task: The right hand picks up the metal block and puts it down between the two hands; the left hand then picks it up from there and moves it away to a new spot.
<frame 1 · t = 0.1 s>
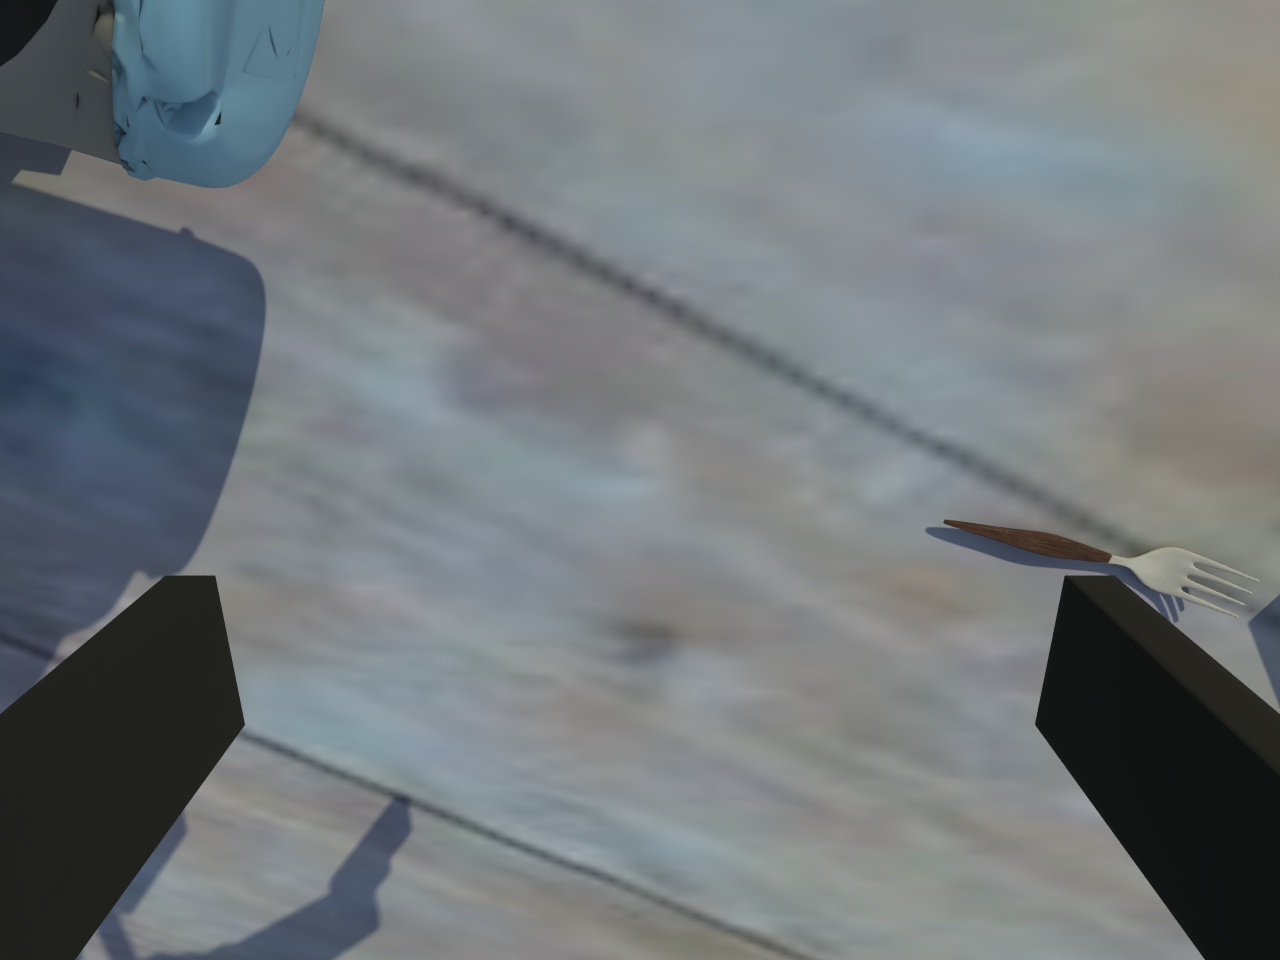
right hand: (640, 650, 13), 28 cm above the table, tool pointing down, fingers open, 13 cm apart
fork: (1082, 548, 43), on the table
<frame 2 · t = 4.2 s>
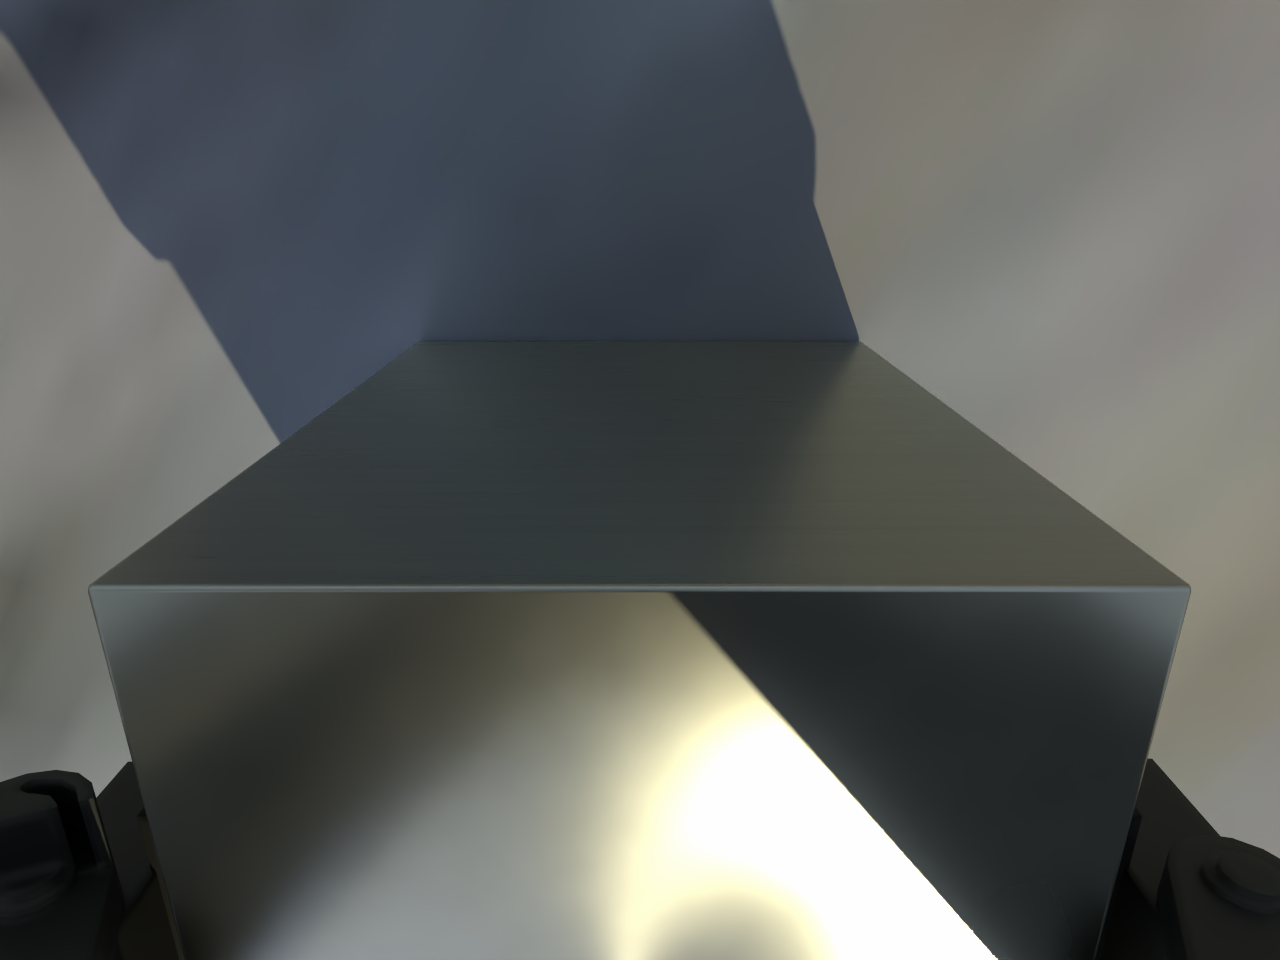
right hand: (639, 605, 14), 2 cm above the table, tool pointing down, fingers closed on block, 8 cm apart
block: (639, 554, 16), on the table, touching right hand
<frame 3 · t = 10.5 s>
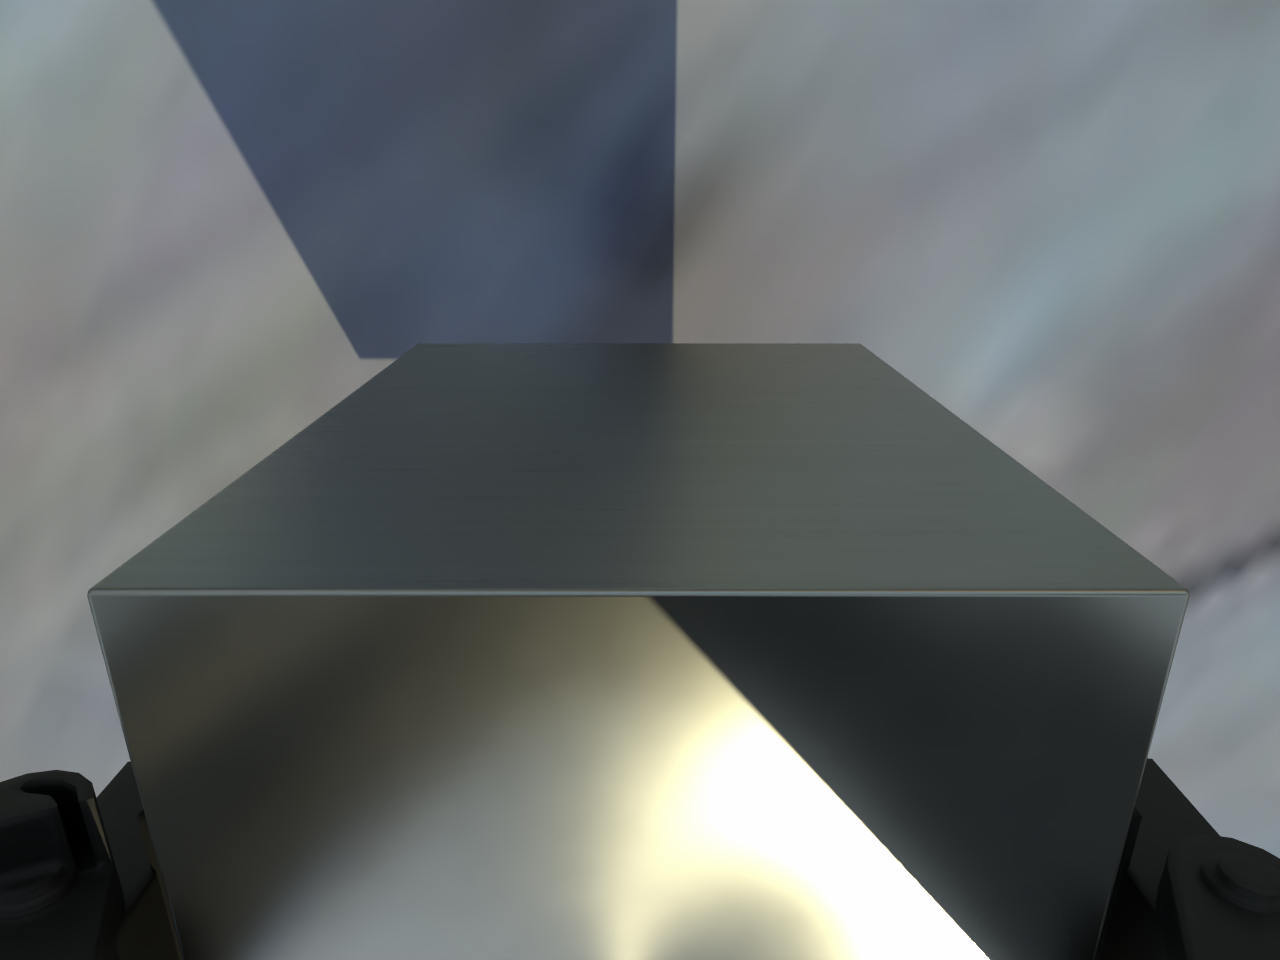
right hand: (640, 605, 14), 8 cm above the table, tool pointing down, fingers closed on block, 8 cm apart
block: (639, 556, 16), point 6 cm above the table, touching right hand
when the right hand's fingers open (4 cm above the table, at t = 17.0 s): block drops 2 cm, on the table.
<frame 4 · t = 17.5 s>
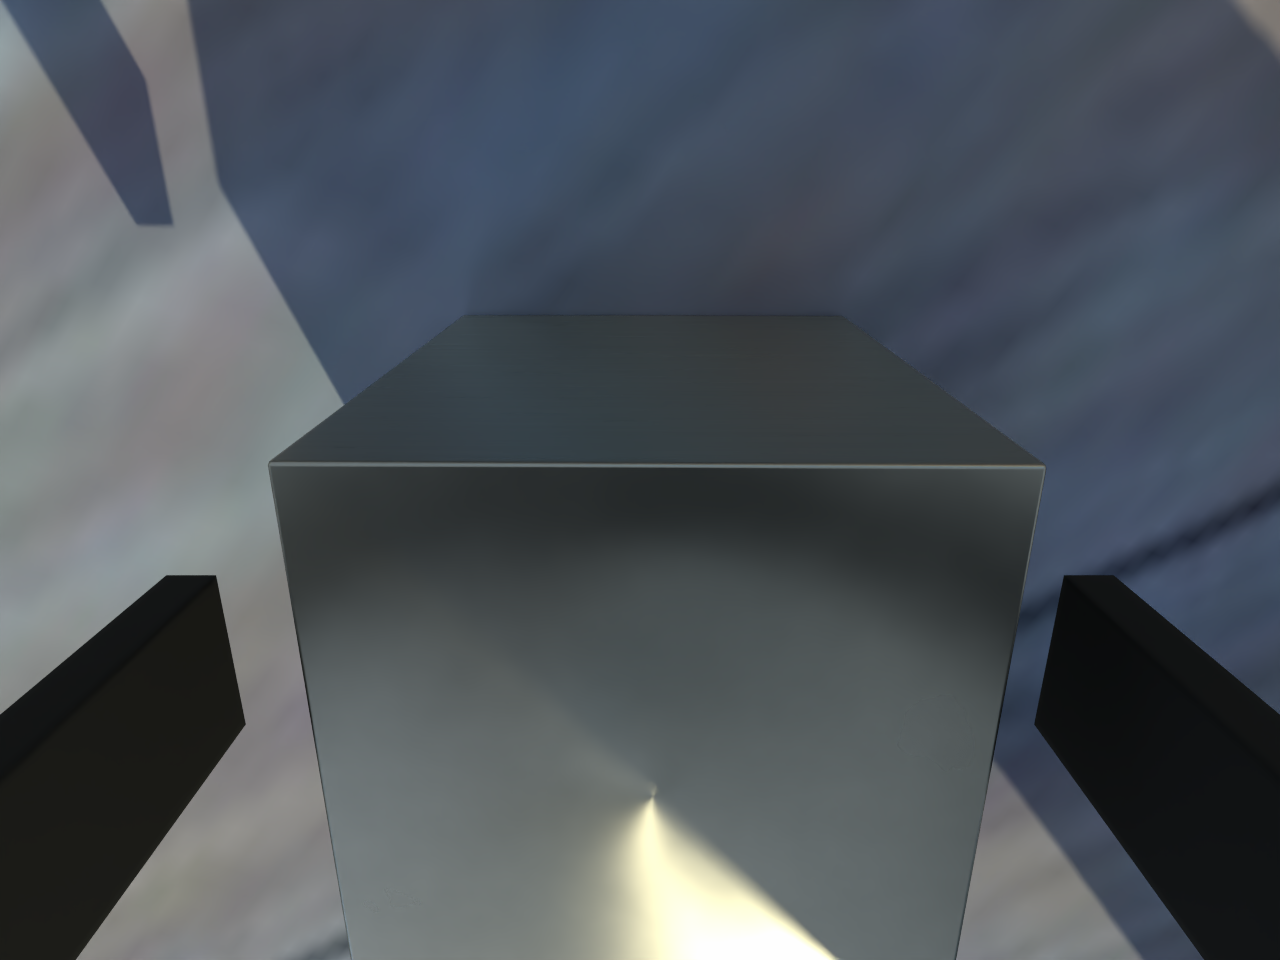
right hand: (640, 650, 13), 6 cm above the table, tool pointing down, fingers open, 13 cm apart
block: (651, 502, 19), on the table
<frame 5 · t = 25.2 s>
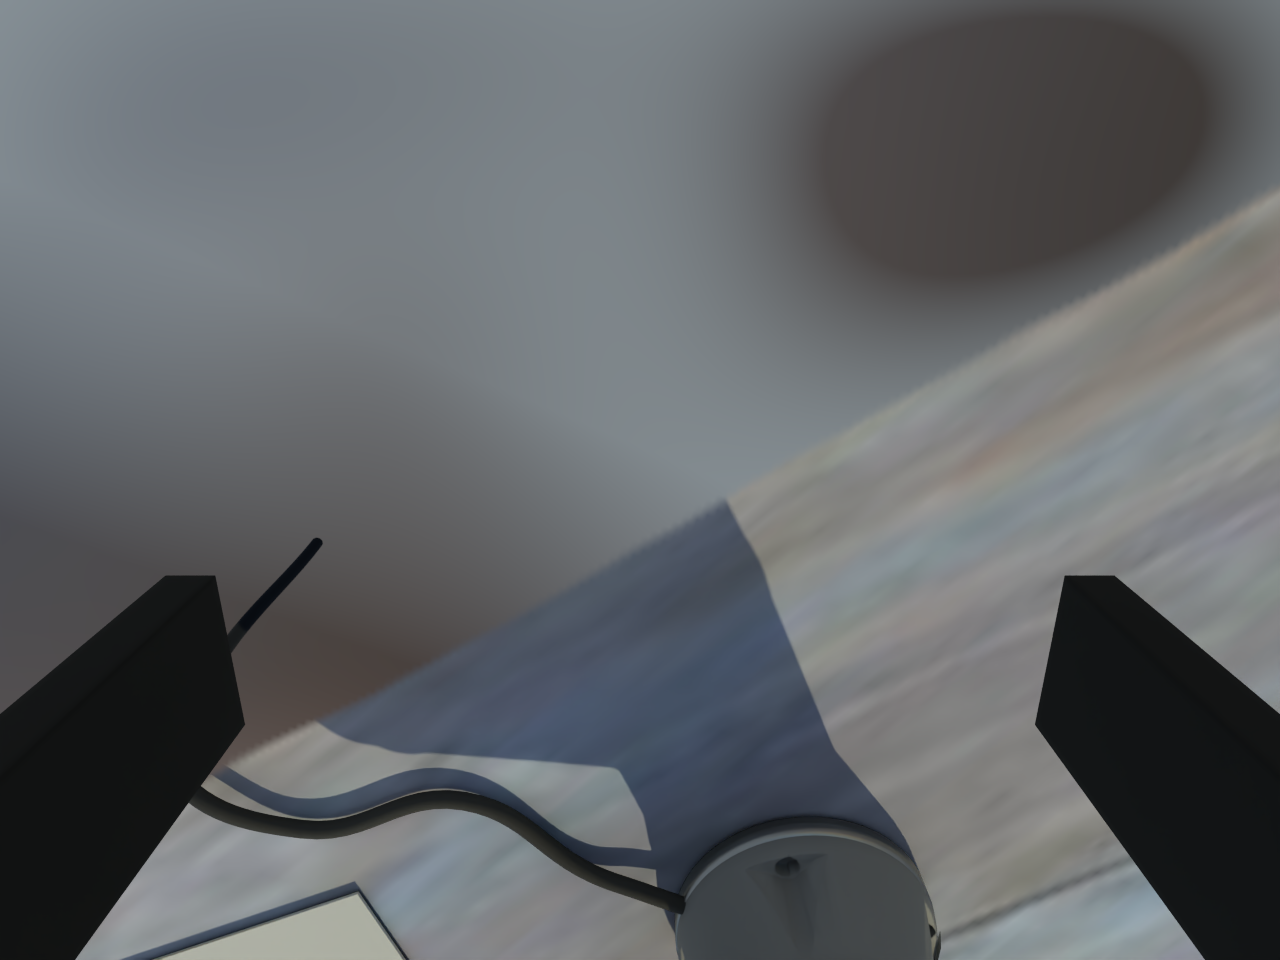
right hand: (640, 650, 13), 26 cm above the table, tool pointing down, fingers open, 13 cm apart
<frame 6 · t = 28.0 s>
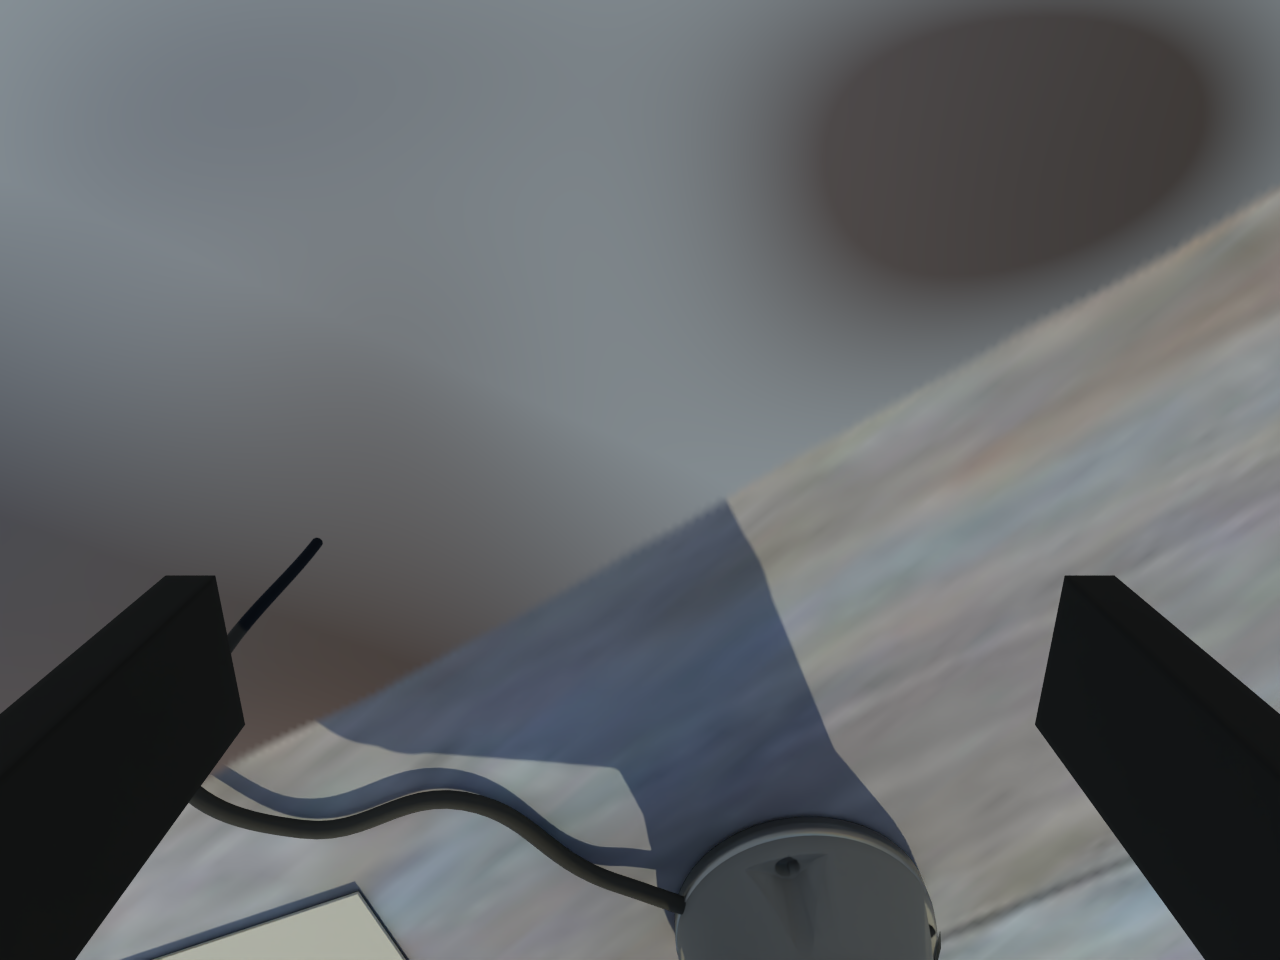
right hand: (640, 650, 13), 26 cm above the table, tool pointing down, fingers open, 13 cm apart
when the left hand's fingers open (4 cm above the table, at t = 31.3 s): block drops 2 cm, on the table.
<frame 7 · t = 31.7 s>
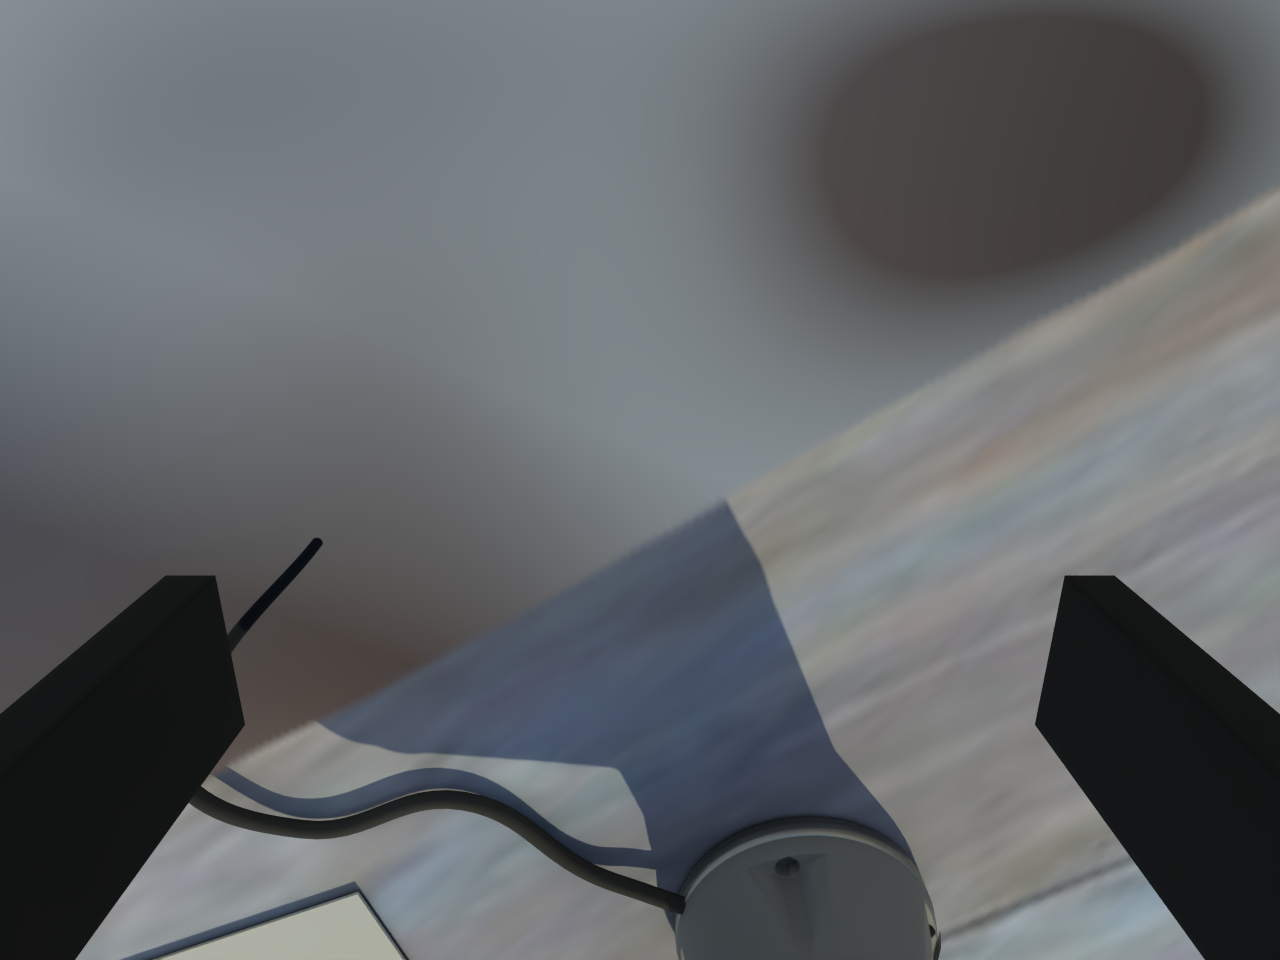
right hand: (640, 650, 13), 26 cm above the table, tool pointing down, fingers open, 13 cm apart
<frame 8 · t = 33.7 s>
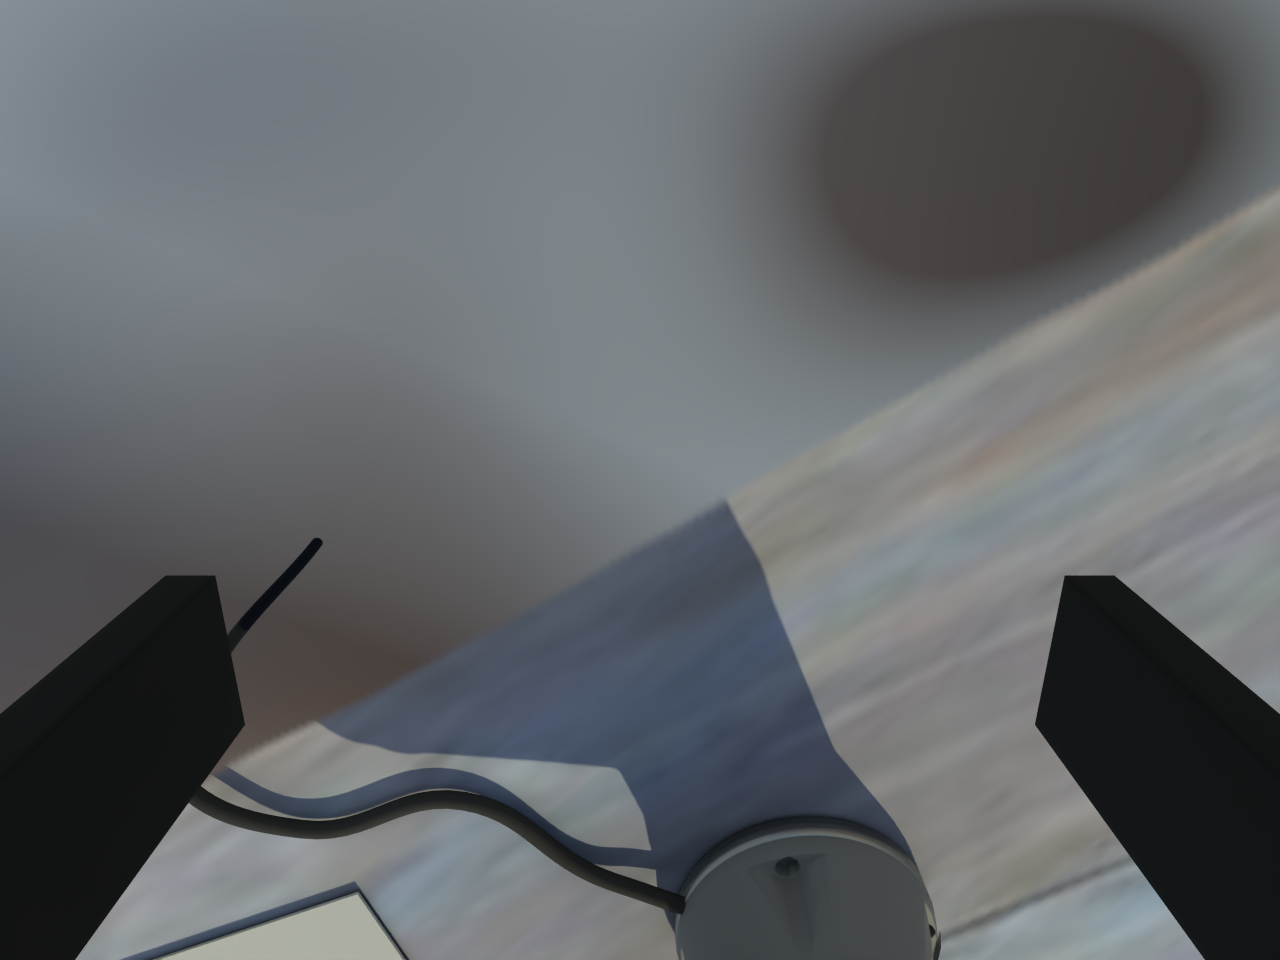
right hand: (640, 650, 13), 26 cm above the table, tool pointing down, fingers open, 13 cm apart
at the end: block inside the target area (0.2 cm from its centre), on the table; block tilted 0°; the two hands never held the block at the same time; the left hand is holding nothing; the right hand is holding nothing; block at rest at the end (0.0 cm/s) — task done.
